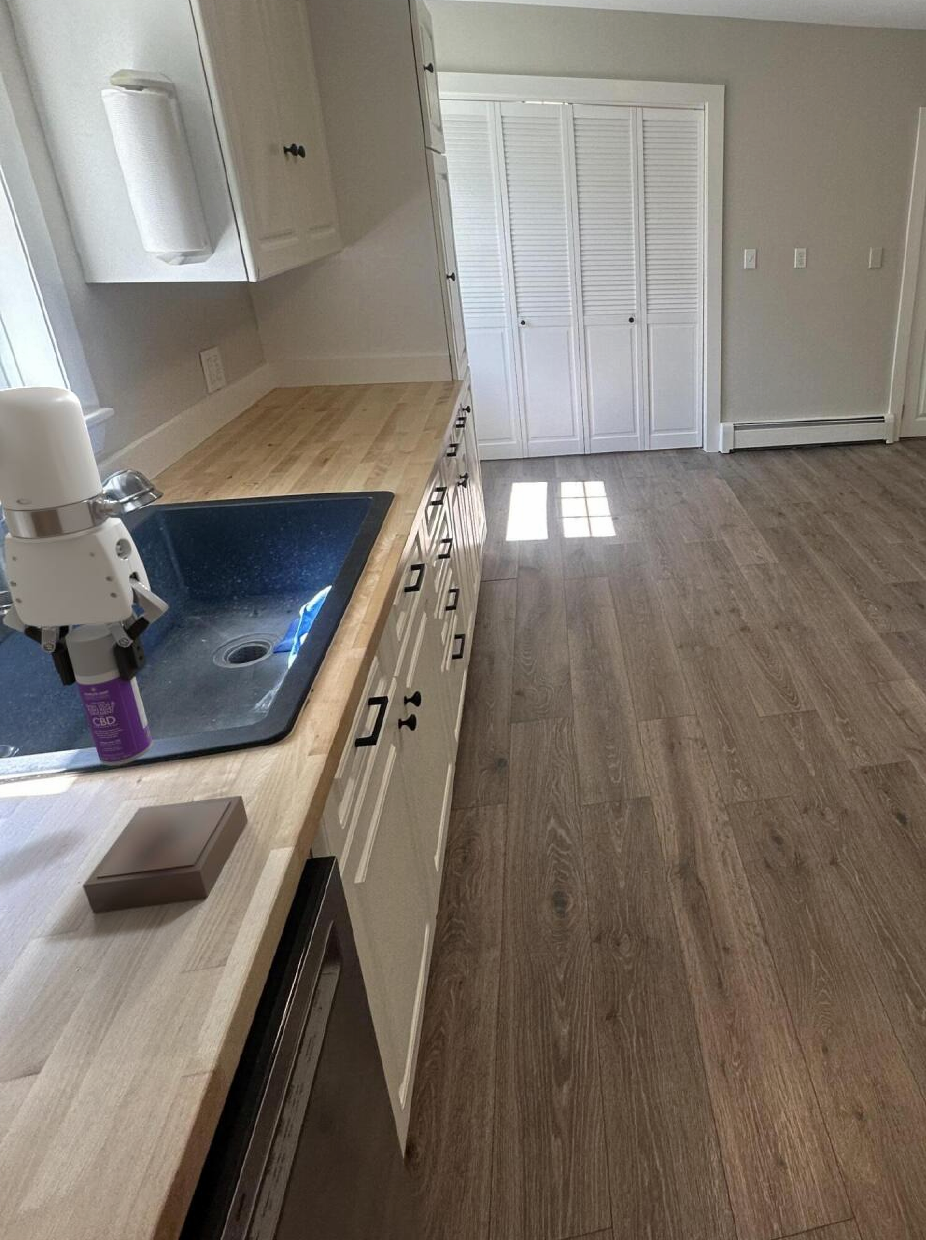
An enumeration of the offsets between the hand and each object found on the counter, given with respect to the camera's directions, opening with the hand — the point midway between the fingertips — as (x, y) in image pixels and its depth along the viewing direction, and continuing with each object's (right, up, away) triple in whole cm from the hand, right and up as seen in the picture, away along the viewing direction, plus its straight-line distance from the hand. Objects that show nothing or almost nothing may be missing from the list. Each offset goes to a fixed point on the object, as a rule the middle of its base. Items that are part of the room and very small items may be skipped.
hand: (104, 674), depth 77 cm
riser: (+9, -19, -2) cm, 21 cm away
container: (0, -9, +3) cm, 10 cm away
